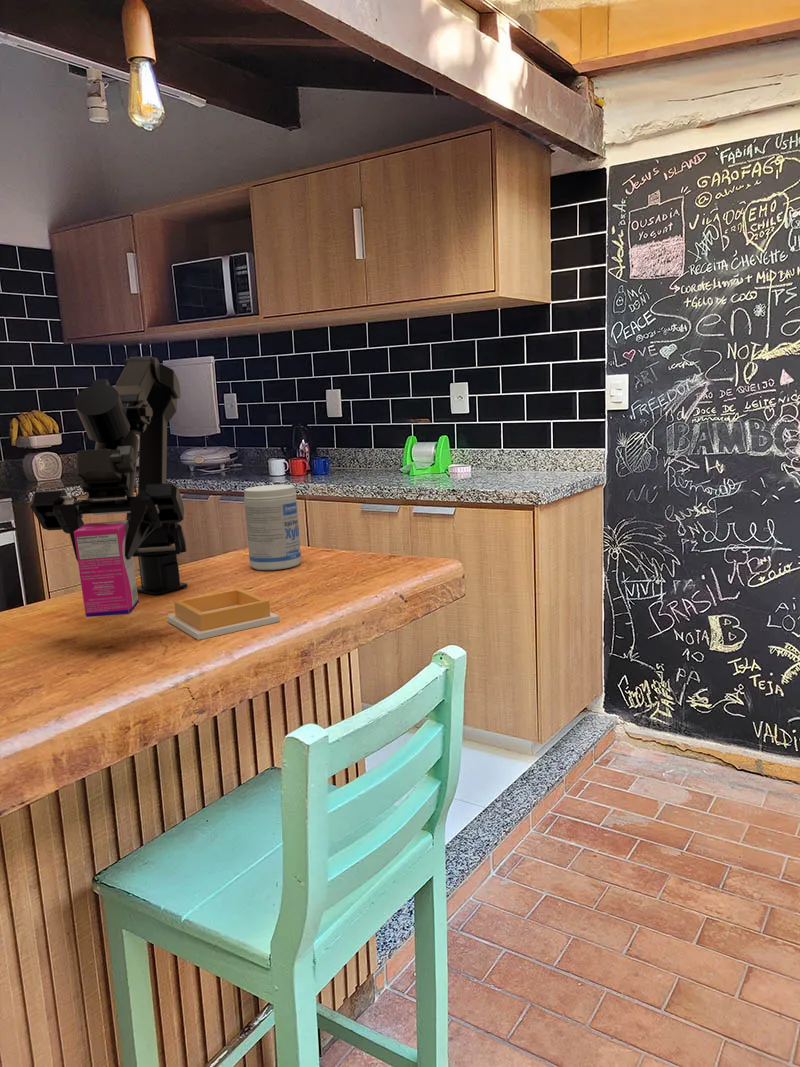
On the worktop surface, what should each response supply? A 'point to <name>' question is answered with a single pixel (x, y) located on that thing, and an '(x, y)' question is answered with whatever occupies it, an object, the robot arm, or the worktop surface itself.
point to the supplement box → (105, 569)
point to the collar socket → (221, 613)
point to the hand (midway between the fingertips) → (102, 559)
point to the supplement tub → (272, 527)
